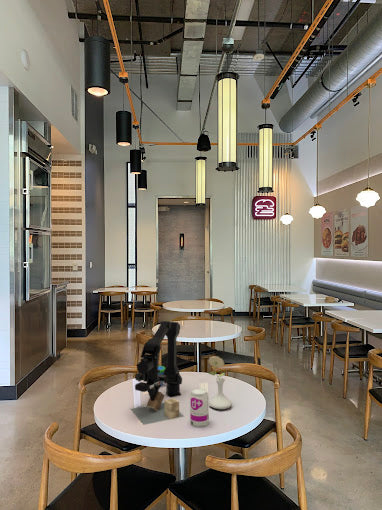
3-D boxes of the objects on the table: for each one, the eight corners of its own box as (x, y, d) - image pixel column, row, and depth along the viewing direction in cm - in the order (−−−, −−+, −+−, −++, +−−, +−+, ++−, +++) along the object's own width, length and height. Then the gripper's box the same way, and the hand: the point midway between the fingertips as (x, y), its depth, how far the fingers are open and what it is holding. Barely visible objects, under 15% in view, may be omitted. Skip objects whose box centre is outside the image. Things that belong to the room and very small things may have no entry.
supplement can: (203, 430, 165) (202, 395, 166) (186, 426, 170) (186, 392, 170) (212, 423, 172) (211, 389, 172) (196, 419, 177) (196, 386, 177)
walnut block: (150, 409, 188) (156, 393, 192) (158, 411, 185) (164, 395, 189) (146, 405, 185) (152, 390, 190) (153, 408, 182) (160, 392, 187)
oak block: (173, 412, 183) (173, 398, 183) (179, 416, 179) (179, 401, 179) (164, 415, 180) (164, 400, 180) (170, 419, 176) (170, 403, 176)
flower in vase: (236, 406, 191) (235, 356, 191) (222, 413, 183) (222, 361, 183) (216, 400, 200) (215, 352, 200) (201, 406, 192) (201, 356, 192)
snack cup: (140, 386, 222) (140, 369, 222) (148, 381, 232) (148, 364, 232) (164, 389, 216) (164, 372, 216) (172, 384, 226) (172, 366, 226)
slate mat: (168, 402, 197) (168, 401, 197) (184, 417, 179) (184, 416, 179) (130, 410, 188) (130, 408, 188) (143, 426, 170) (143, 424, 170)
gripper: (152, 361, 198) (152, 391, 198) (126, 370, 182) (126, 403, 182) (169, 364, 191) (169, 396, 191) (144, 374, 176) (144, 408, 176)
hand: (152, 400), depth 185 cm, fingers closed
